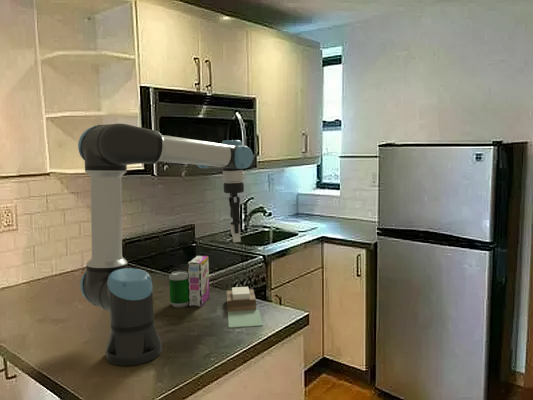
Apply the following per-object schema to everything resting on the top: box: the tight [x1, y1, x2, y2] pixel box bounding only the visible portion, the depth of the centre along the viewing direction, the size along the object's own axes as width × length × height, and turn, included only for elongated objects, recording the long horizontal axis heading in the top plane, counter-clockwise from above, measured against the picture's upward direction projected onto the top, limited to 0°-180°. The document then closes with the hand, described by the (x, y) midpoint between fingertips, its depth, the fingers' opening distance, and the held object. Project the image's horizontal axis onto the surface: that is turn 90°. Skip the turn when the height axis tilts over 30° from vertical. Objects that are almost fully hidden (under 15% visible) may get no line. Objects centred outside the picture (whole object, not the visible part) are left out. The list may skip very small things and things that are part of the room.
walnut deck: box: [226, 288, 257, 312], centre depth 166 cm, size 12×10×4 cm
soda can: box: [168, 270, 189, 308], centre depth 168 cm, size 8×8×12 cm
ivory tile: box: [231, 286, 250, 300], centre depth 165 cm, size 8×6×2 cm
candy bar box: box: [187, 255, 210, 308], centre depth 171 cm, size 11×5×16 cm, turn 171°
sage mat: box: [227, 309, 264, 329], centre depth 154 cm, size 14×11×1 cm
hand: (235, 238), depth 173 cm, fingers open, 13 cm apart
